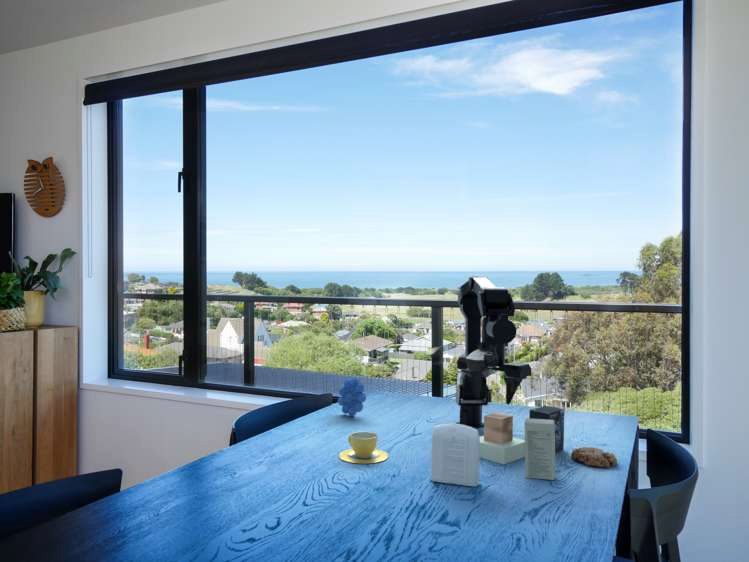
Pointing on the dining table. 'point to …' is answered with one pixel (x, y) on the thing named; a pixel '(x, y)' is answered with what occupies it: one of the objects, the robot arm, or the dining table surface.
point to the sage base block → (502, 450)
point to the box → (558, 418)
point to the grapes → (352, 396)
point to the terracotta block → (498, 428)
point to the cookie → (594, 457)
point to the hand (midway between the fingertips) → (492, 400)
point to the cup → (363, 448)
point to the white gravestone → (455, 454)
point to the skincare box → (540, 449)
